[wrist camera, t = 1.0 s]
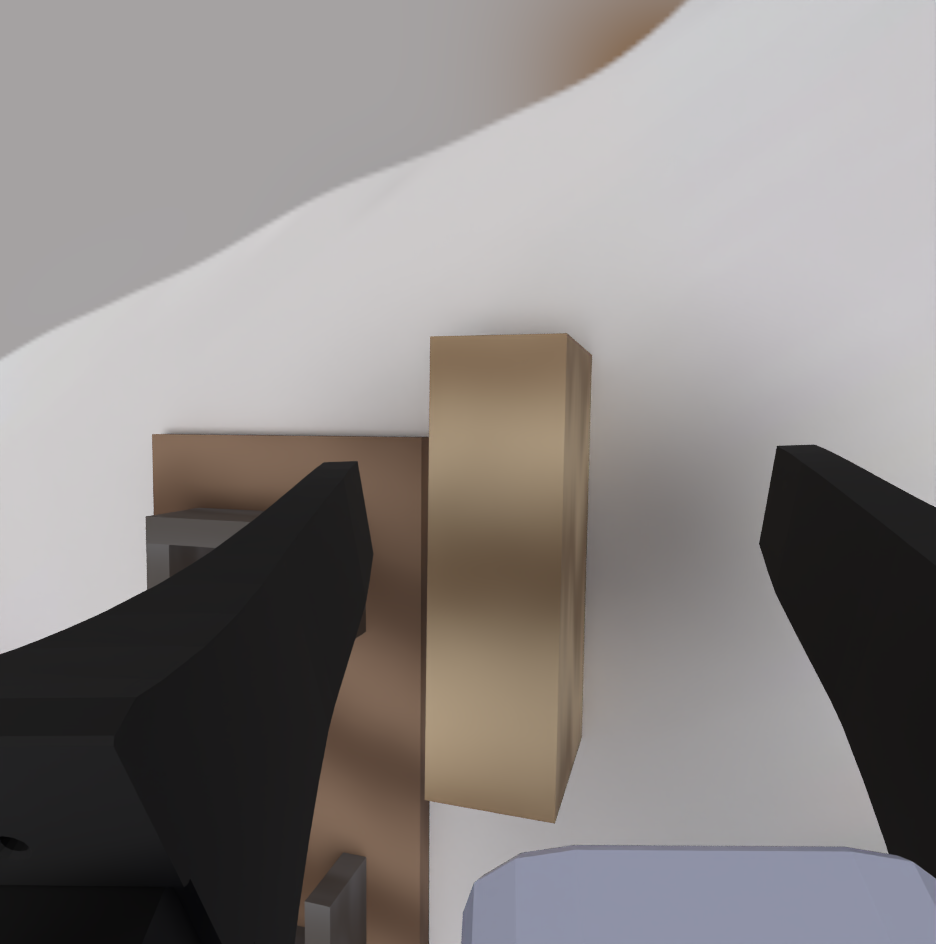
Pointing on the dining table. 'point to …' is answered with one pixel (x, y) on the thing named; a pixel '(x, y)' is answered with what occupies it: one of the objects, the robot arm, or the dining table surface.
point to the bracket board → (367, 674)
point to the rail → (506, 570)
